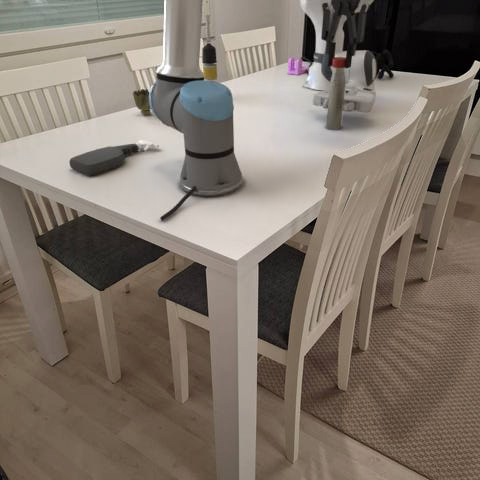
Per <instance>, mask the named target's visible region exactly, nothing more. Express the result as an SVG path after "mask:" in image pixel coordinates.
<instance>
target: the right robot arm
mask: <svg viewBox="0 0 480 480" xmlns="http://www.w3.org/2000/svg"><path fill="white" fill-rule="evenodd" d="M330 1H331V0H299V4H300V5H299V6H300V8H301V10H302V12H303V13H304V14H306V15H307V17H309V18H310V20H311V22H312V24H313V26H314V30H315V51H314V53H313V62H312V61H311V60H310V59H308V58H307V57H306V56H301V57H300V59H302V60H303V59H304V60H306V61H307V62H308V63H310V64H309V65H308V67H309V71H308V70H306V72H305V73H306V74H308V77H307V79H306V82H304V84H303V87H304V88H307V89H311V90H316V91H317V92H315V93H313V95H312V98H311V102H312V103H311V104H312V105H313V106H317V107H322V108H323V109H326V110H328V99H329V87H330V80H331V77H332V74H333V71H334V67H332V66H328V58H329V54H327V53H326V50H327V42H326V41H325V40H322V39H321V36H322V23H323V8H322V4H323V3H327V2H330ZM374 1H375V0H361V2H362V3H364V4H369V6H371V5H372V3H374ZM334 12H335V10H334V8H333V6H332V8H331V14H330V25H329V31H330V27H331V24H332V21H333V15H334ZM359 12H360V11H359V6H358V7H357V9H356V10H355V14H357V13H359ZM346 21H348V20H347V18H346V16H345V15H342V17H341V18H340V21H339V25H338V28H337V31H336V34H335V38H334V41H333V42H336V47H335V57H345V58H346V53H347V50H344V40H345V32H344V29H343V27H344V24H345V22H346ZM344 72H345V81H346V82H345V94H344V103H343V105H342V109H341V110H342V111H343V112H352V111H353V112H359V113H366V114H368V113H372V112H373V111H374V109H375V105H376V104H375V103H376V96H377V95H376V90H375V81H376V78H377V76H376V74H377V61H376V57H374V55H373V54H372V53H371V51H370V50H364V49H363V50H356V52H355V55H354V56H352V62H351V67H349V68H345V69H344Z"/></svg>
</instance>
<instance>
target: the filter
mask: <svg viewBox="0 0 480 480" xmlns="http://www.w3.org/2000/svg"><path fill="white" fill-rule="evenodd" d="M210 17H211V14H204V18H205V27H206V29H205V30H206V31H205V33H206V39H207V40H206V42H207V43H206V45H204V46H202V49H201V50H202V51H201V52H202V54H201V55H202V57H201V58H202V61H201V63H202V72H203V73H204V75H205V77H204V80H205V81H210V82H216V80H218V64H216V63H218V61H217V48H216V47H215V46H214V45H212V43H210V42H211V40H210V39H211V31H210V29H211V28H210Z"/></svg>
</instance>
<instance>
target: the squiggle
mask: <svg viewBox="0 0 480 480" xmlns="http://www.w3.org/2000/svg"><path fill="white" fill-rule="evenodd" d="M370 52H371V53H372V54H373V55H374V57H375V58H376V61H377V74H376V77H377V78H378V79H379V80H382V79H383V78H384V75H385V73H386V74H387V75H388V77H389V78H394V72H393V71H392V69H390V68H392V67H393V66H394V60H393V57H392V54H391V51H389V50H388V49H384V51H383V52H382V54H381V53H377V52H376V51H373V50H371V51H370ZM382 55H383V56H382ZM386 61H388V64H386Z"/></svg>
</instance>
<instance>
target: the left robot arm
mask: <svg viewBox="0 0 480 480" xmlns="http://www.w3.org/2000/svg"><path fill="white" fill-rule="evenodd" d="M203 2H204V0H164V7H163V8H164V10H163V13H164V15H163V16H164V17H163V49H162V50H163V51H162V53H163V54H162V64H161V65H160V66H159V67H158V68H157V69H156V72H155V73H156V77H155V79H156V80H155V81H154V83H153V84H152V85H151V87H150V90H149V91H150V92H149V104H150V108H151V109H150V110H151V112H152V114H153V115H154V117H156V119H158V121H160V122H161V123H162V124H163V125H165V126H167V127H169V128H171V129H174V130H175V131H177V132H179V133H181V134H183V143H184V154H185V155H184V158H183V164H182V168H181V171H180V177H179V178H180V179H179V183H180V184H179V185H180V188H181V189H182V191H184V192H186V194H184V196H183V197H182V198H181V199H180V200H179V201H178V202H177V203H176V205H174V206H173V208H171V209H170V210H168V211H167V212H166V213H164V214H163V215H161V216H160V220H161V221H165V219H167V218H169V217H170V216H171V215H173V214H174V213H175V212H176V211H178V209H180V207H181V206H182V205H184V203H185V202H186V201H187V200H188V199H189V197H190V196H191V195H194V196H199V197H221V196H224V195H229V194H232V193H234V192H235V191H237V190H239V189H240V188H241V187H242V185H243V174H242V171H241V168H240V165H239V163H238V160H237V157H236V154H235V132H234V131H235V130H234V127H235V126H234V110H235V106H234V100H233V98H234V97H233V94H232V91H231V89H230V88H229V87H227V85H225V84H223V83H221V82H218V81H215V82H210V81H208V80H204V77H205V75H204V73H203V70H202V69H201V68H200V55H201V54H200V53H201V37H202V36H201V35H202V21H203V20H202V19H203ZM332 6H333V8H334V10H335V12H334V15H333V21H332V24H331V27H330V31H329V25H330V14H331V8H332ZM358 6H359V11H360V12H358V19H357V20H358V21H357V25H356V13H355V10H356V9H357V7H358ZM322 8H323V23H322V36H321V39H322V40H325V41H326V42H327V50H326V53H327V54H329V58H328V66H332V60H333V58H334V57H335V47H336V42H333V41H334V38H335V34H336V31H337V28H338V25H339V21H340V18H341V17H342V15H345V16H346V18H347V20H346V21H347V28H348V36H349V43H348V44H347V45H346V51H347V53H346V63H345V68H349V67H351V62H352V56H354V55H355V52H356V51H357V44H359V43H362V42H364V39H365V28H366V19H367V12H368V10H369V8H370V5H369V4H364V3H362V2H361V0H331V1H330V2H327V3H323V4H322Z"/></svg>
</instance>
